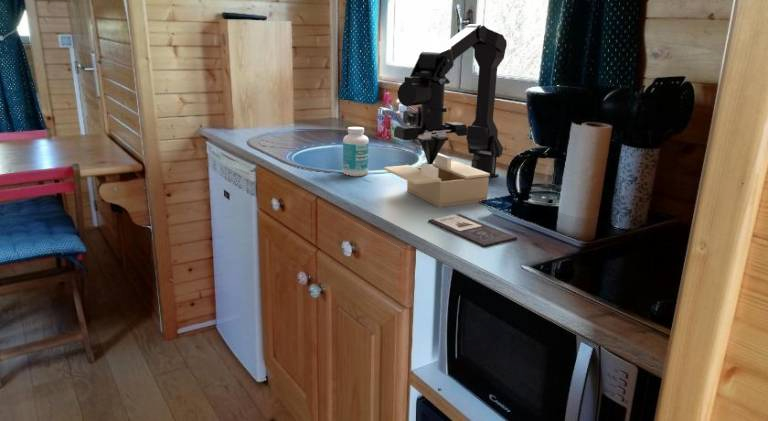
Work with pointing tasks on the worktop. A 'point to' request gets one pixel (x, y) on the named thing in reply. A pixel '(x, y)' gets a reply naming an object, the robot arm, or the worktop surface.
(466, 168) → the inner lid
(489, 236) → the chocolate bar
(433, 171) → the outer lid
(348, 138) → the pill bottle
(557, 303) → the worktop surface
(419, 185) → the carton
